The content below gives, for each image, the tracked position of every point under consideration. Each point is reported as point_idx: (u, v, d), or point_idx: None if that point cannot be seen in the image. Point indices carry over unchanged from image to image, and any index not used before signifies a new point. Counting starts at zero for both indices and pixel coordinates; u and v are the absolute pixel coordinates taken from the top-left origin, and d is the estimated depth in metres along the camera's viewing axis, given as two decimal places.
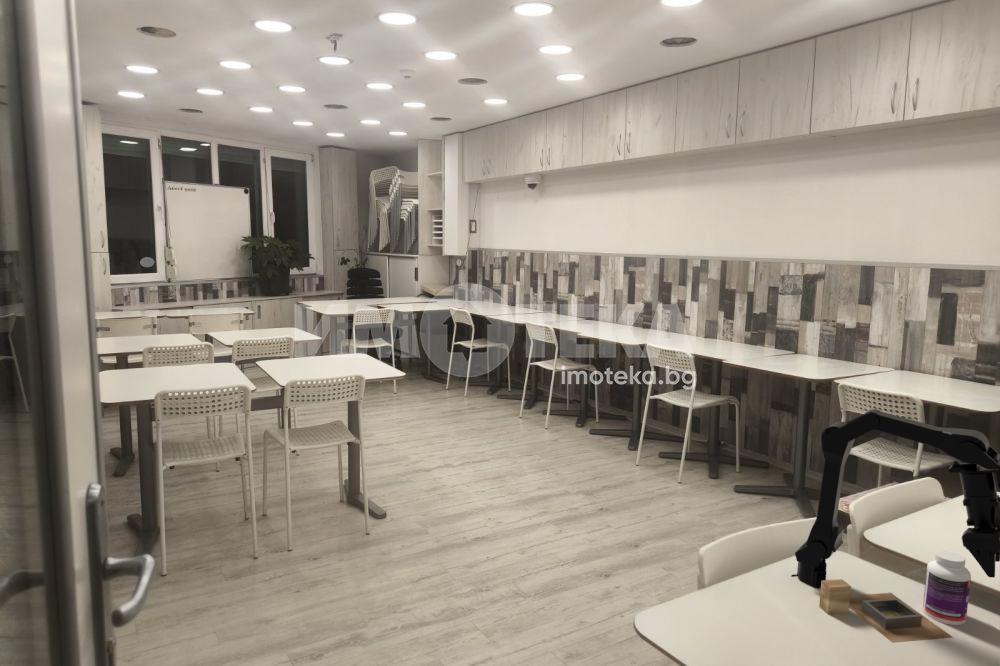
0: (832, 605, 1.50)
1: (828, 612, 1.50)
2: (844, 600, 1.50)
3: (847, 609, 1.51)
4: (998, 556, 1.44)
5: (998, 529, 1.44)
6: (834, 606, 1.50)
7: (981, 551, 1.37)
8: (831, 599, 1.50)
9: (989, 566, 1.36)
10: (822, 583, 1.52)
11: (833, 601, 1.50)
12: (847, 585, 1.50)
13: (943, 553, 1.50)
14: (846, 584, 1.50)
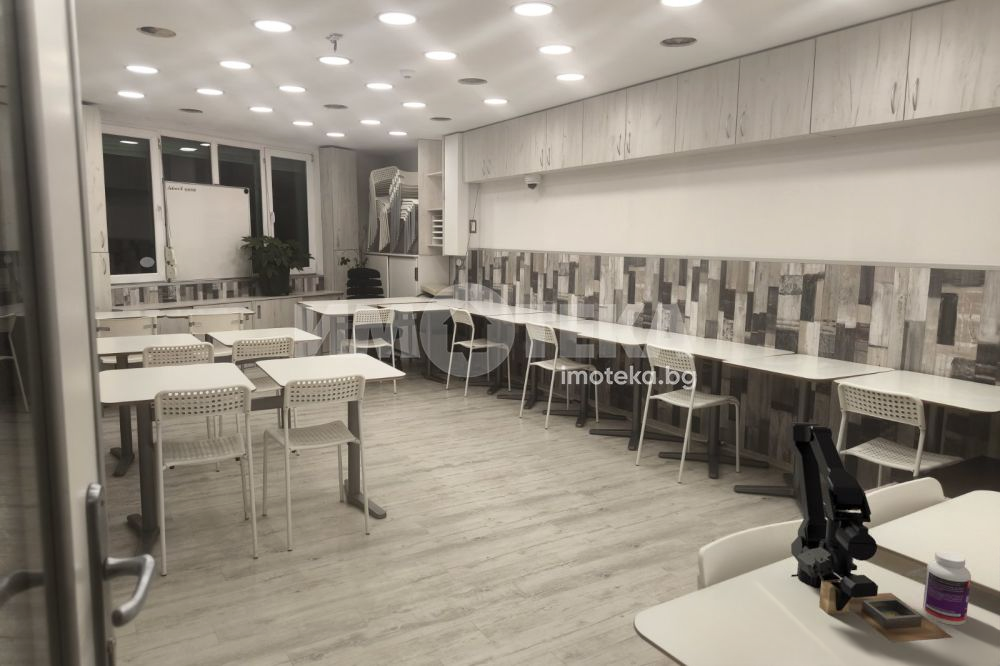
0: (832, 605, 1.50)
1: (828, 612, 1.50)
2: None
3: (847, 609, 1.51)
4: None
5: None
6: (834, 606, 1.50)
7: None
8: (831, 599, 1.50)
9: None
10: (822, 583, 1.52)
11: (833, 601, 1.50)
12: None
13: (943, 553, 1.50)
14: None
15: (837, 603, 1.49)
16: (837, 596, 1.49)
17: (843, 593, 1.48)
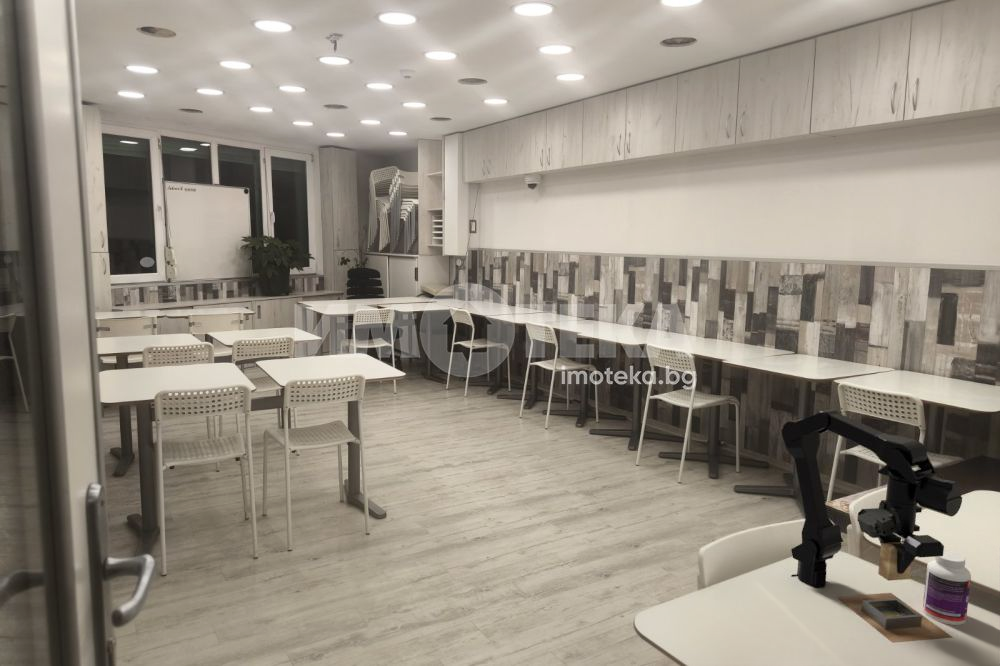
0: (893, 567, 1.45)
1: (889, 575, 1.45)
2: None
3: (908, 572, 1.46)
4: None
5: None
6: (895, 569, 1.45)
7: None
8: (892, 561, 1.45)
9: None
10: (882, 545, 1.47)
11: (895, 563, 1.45)
12: None
13: (943, 553, 1.50)
14: None
15: (899, 565, 1.44)
16: (899, 558, 1.44)
17: (905, 555, 1.43)
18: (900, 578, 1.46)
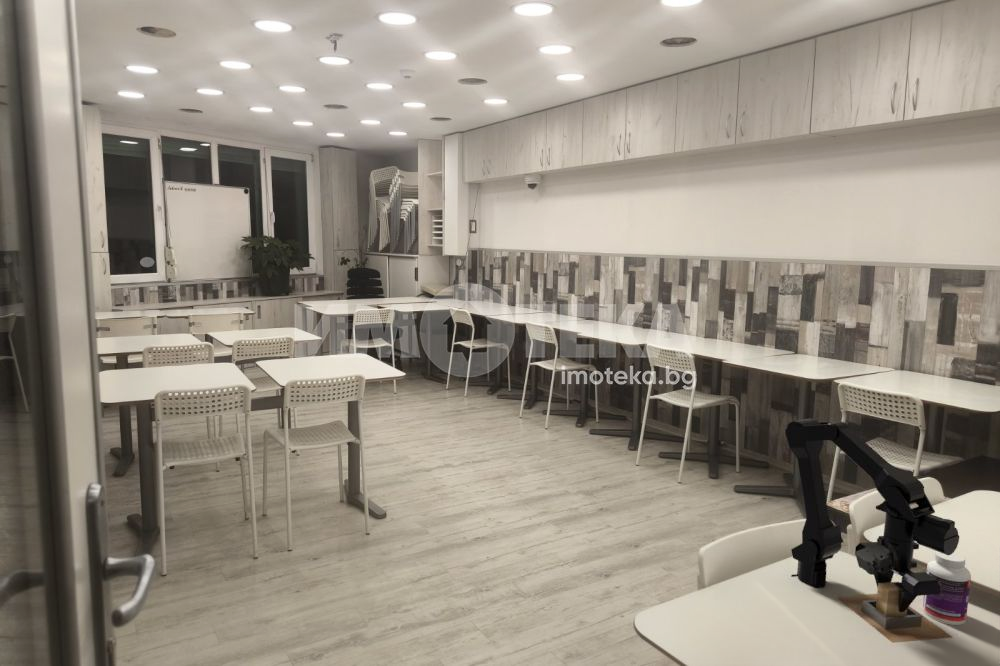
0: (890, 608, 1.46)
1: (886, 616, 1.46)
2: None
3: (905, 612, 1.47)
4: None
5: None
6: (892, 609, 1.46)
7: None
8: (889, 602, 1.46)
9: None
10: (879, 586, 1.48)
11: (892, 604, 1.46)
12: None
13: None
14: None
15: (900, 604, 1.44)
16: (900, 597, 1.44)
17: (907, 594, 1.43)
18: None
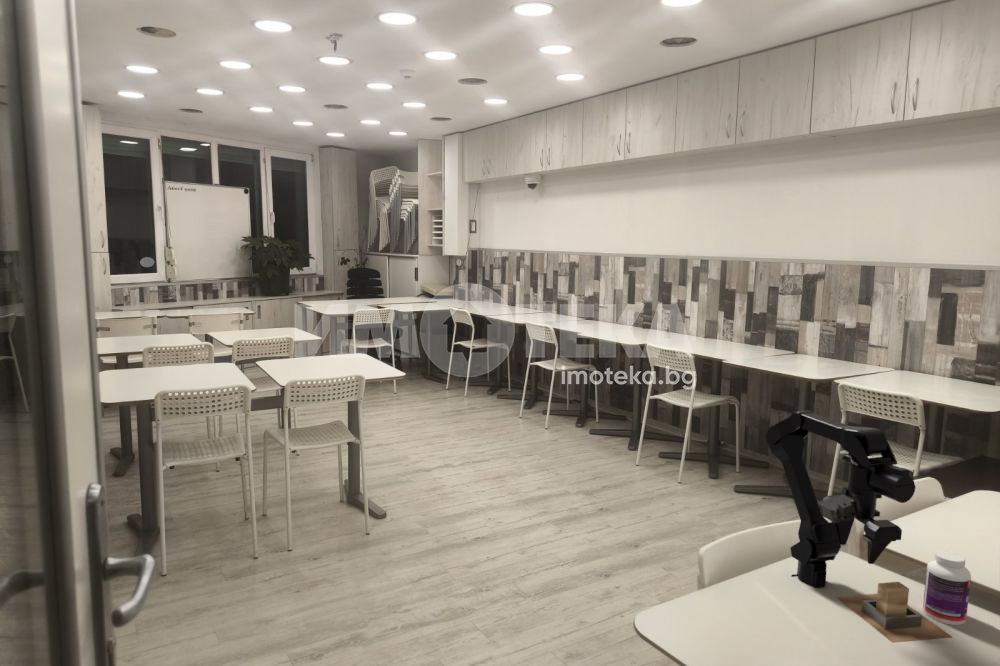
0: (890, 608, 1.46)
1: (886, 616, 1.46)
2: (902, 603, 1.47)
3: (905, 612, 1.47)
4: None
5: None
6: (892, 609, 1.46)
7: None
8: (889, 602, 1.46)
9: None
10: (879, 586, 1.48)
11: (892, 604, 1.46)
12: (905, 588, 1.47)
13: (943, 553, 1.50)
14: (904, 587, 1.47)
15: (869, 556, 1.46)
16: (869, 548, 1.46)
17: (875, 545, 1.46)
18: None
